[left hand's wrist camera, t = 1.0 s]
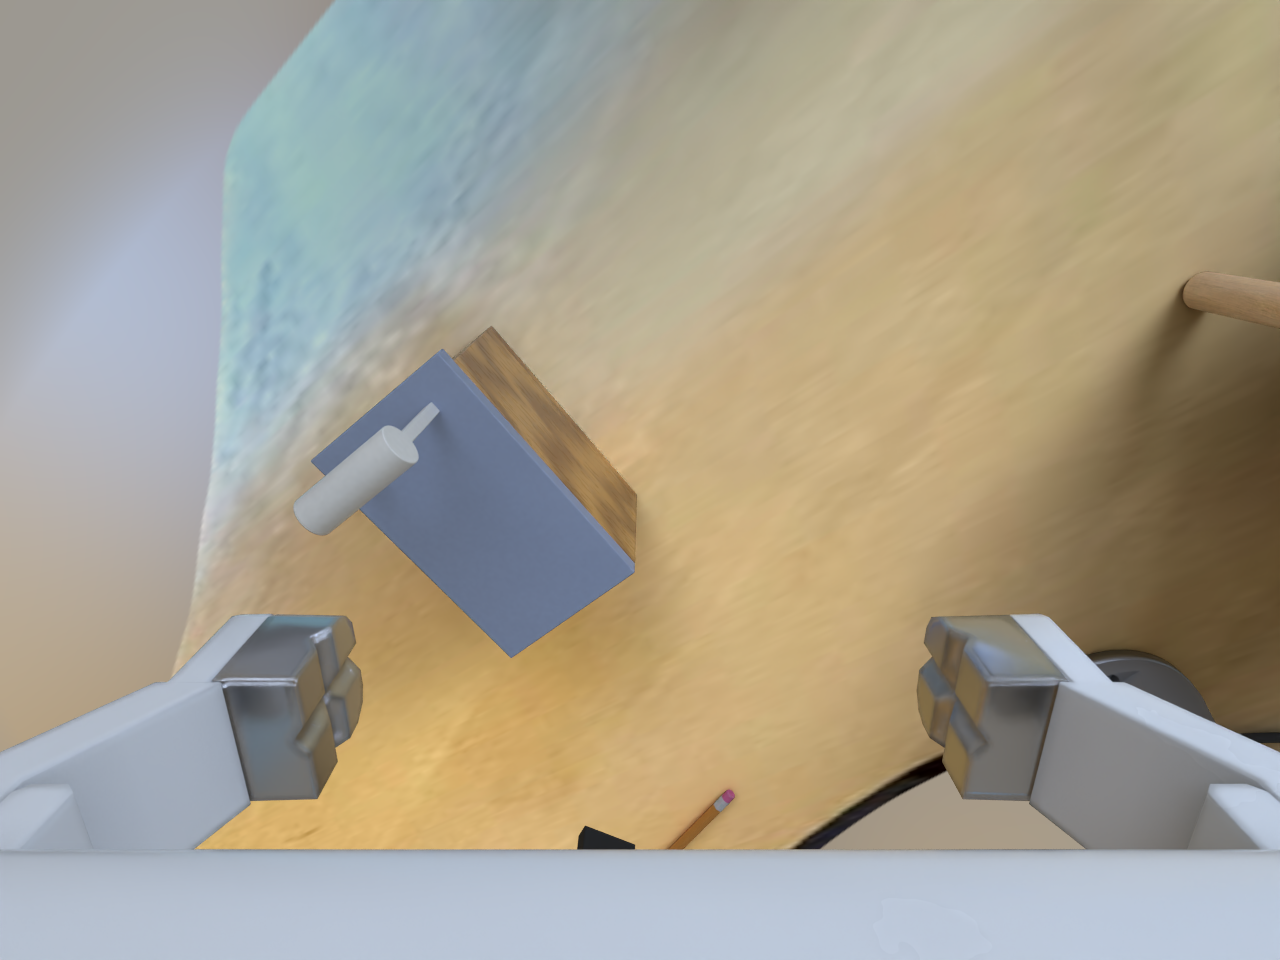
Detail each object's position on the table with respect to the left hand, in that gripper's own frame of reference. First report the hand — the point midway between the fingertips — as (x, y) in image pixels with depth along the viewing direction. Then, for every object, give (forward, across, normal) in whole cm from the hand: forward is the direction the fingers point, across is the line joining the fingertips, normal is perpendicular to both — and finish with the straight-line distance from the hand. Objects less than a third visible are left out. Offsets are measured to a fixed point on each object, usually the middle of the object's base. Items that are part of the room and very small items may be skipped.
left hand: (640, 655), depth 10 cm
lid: (+32, +10, +12) cm, 35 cm away
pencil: (+43, -3, +51) cm, 67 cm away
